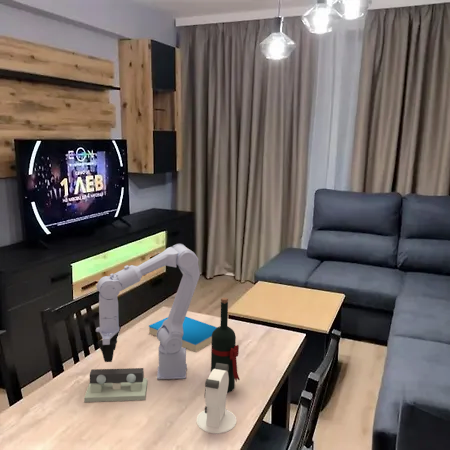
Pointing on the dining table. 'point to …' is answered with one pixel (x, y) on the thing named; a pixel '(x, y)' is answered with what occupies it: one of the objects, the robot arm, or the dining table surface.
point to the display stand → (116, 391)
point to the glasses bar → (116, 375)
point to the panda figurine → (216, 403)
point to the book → (190, 333)
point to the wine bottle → (225, 346)
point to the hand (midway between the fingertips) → (110, 355)
